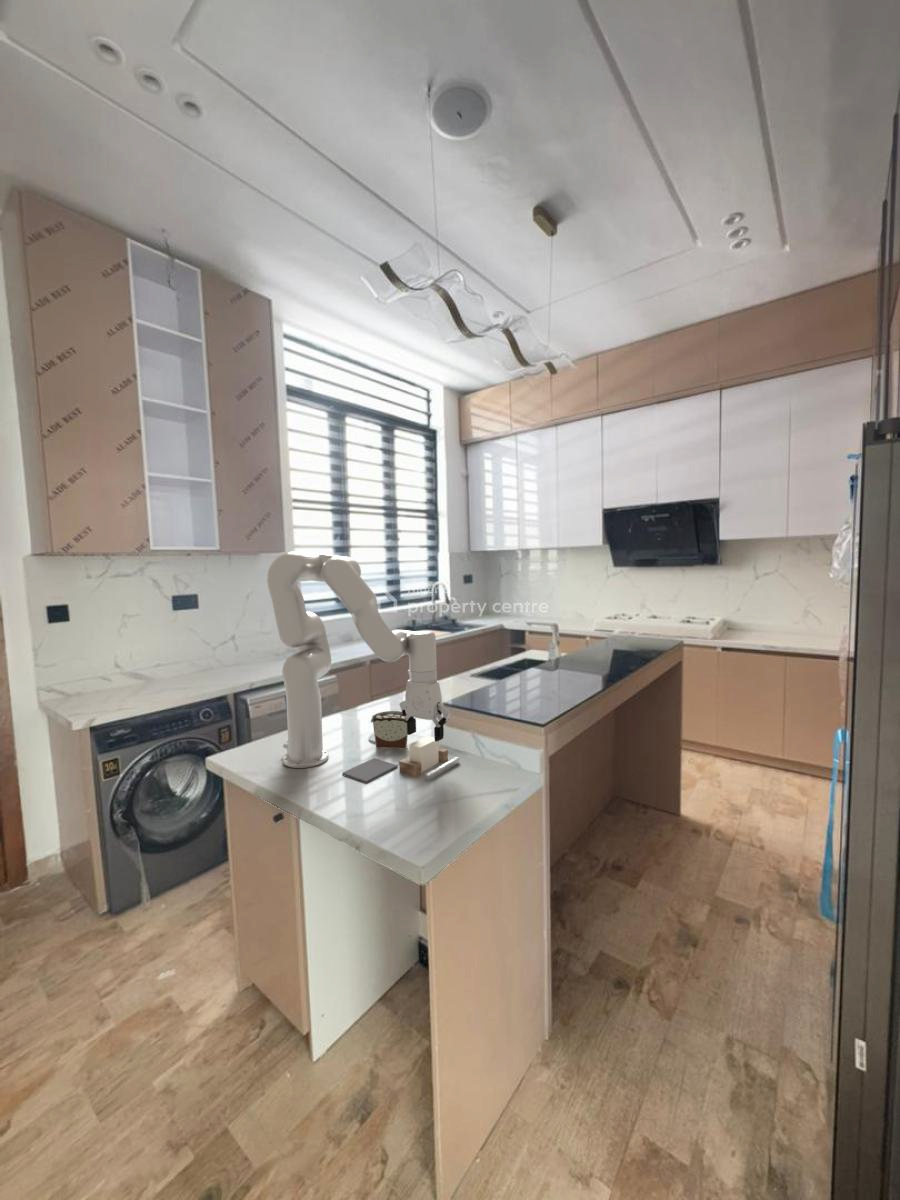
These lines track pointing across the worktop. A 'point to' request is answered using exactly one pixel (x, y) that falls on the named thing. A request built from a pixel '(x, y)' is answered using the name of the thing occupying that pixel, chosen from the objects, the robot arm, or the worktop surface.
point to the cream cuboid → (424, 752)
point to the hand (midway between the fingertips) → (425, 736)
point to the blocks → (415, 770)
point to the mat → (370, 770)
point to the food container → (390, 729)
